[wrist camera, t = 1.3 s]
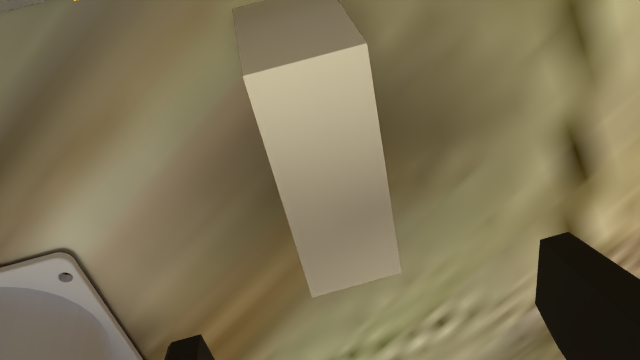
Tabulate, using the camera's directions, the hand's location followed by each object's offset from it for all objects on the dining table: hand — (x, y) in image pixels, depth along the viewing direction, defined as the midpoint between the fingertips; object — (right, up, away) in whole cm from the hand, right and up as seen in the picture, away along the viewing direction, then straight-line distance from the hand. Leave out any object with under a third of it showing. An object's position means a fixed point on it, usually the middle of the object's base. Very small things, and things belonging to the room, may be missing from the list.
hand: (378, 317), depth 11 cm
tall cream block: (-2, +5, +8) cm, 10 cm away
